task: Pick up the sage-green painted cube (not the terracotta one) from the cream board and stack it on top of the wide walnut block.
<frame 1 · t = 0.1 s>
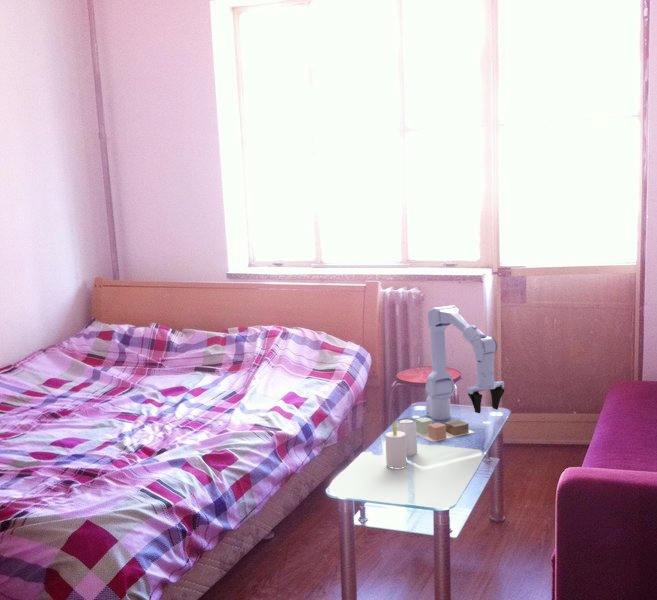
hand: (486, 410, 265), 10 cm above the table, tool pointing down, fingers open, 7 cm apart
sage block: (424, 431, 275), point 1 cm above the table, touching cream board
can: (407, 456, 254), on the table
candle: (396, 466, 245), on the table
cream board: (442, 434, 274), on the table
walnut block: (456, 431, 273), point 1 cm above the table, touching cream board
terracotta block: (437, 437, 268), point 1 cm above the table, touching cream board
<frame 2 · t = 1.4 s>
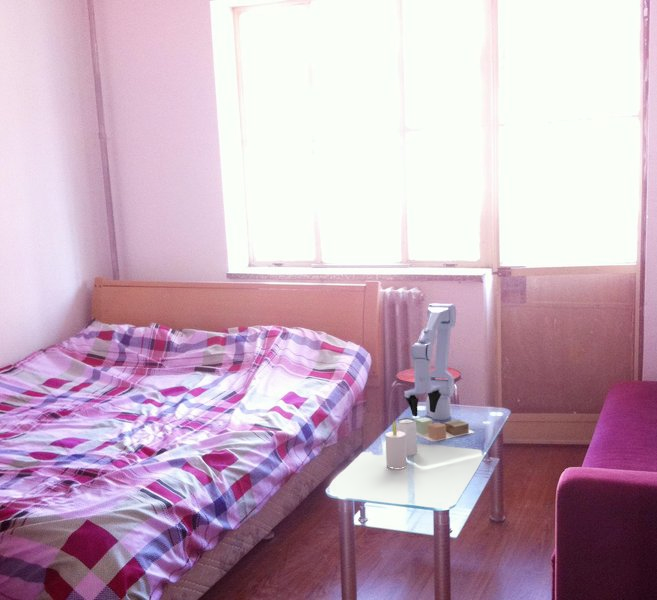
hand: (423, 413, 274), 8 cm above the table, tool pointing down, fingers open, 7 cm apart
nothing on the table moved.
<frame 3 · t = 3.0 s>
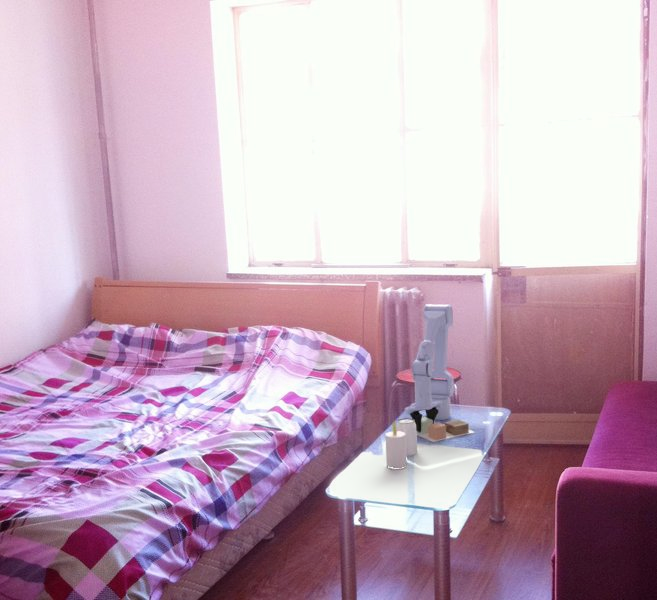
hand: (424, 429, 275), 2 cm above the table, tool pointing down, fingers closed on sage block, 4 cm apart
sage block: (424, 431, 275), point 1 cm above the table, touching cream board, gripper
everything else where it was.
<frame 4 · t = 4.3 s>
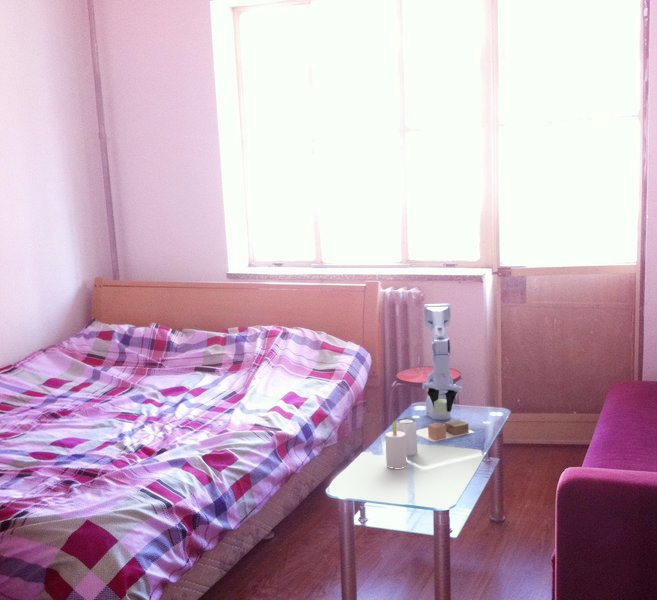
hand: (442, 410, 273), 9 cm above the table, tool pointing down, fingers closed on sage block, 4 cm apart
sage block: (442, 412, 273), point 8 cm above the table, touching gripper
everything else where it was.
when the fingers open (5 cm above the table, at t = 6.0 s): sage block stays where it is, resting on walnut block.
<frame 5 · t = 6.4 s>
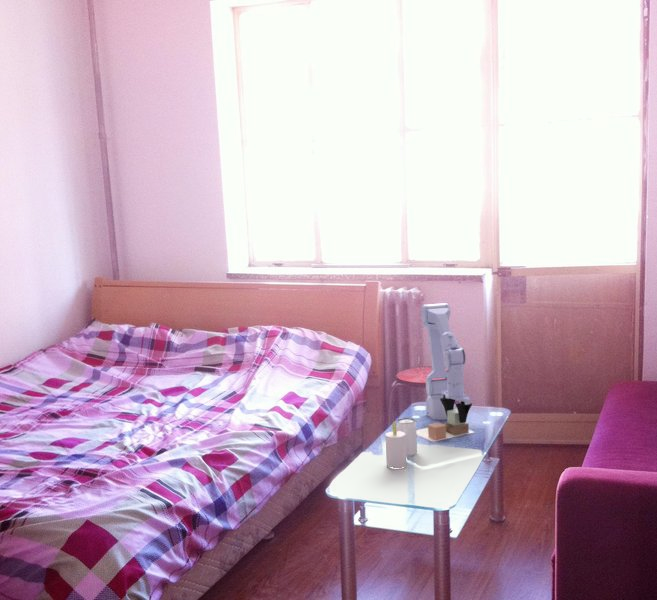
hand: (456, 419, 272), 5 cm above the table, tool pointing down, fingers open, 7 cm apart
sage block: (456, 423, 272), point 4 cm above the table, touching walnut block
walnut block: (456, 431, 273), point 1 cm above the table, touching cream board, sage block
everything else where it was.
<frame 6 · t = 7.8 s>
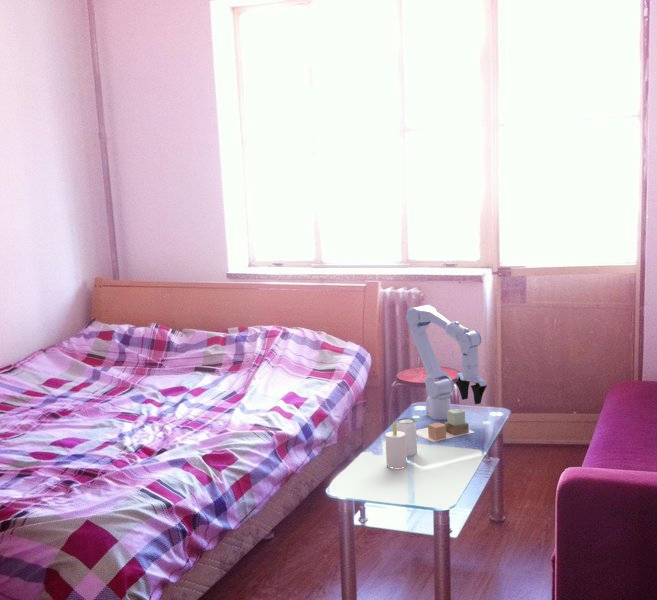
hand: (471, 401, 278), 10 cm above the table, tool pointing down, fingers open, 7 cm apart
nothing on the table moved.
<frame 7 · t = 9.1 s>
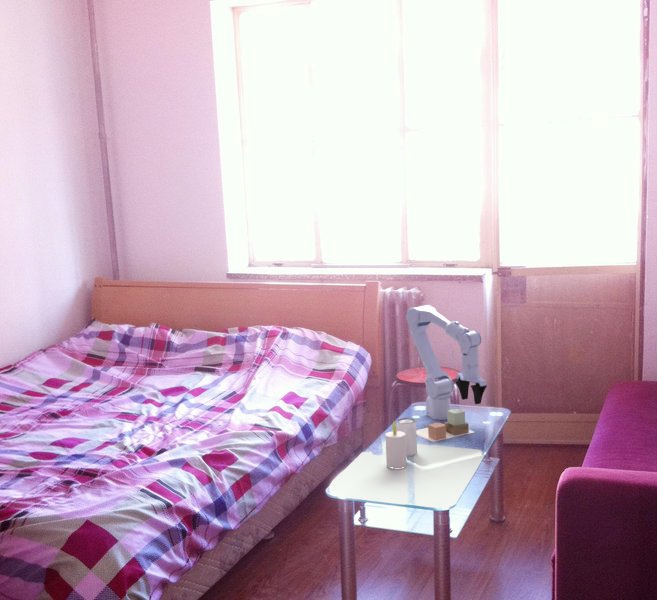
hand: (471, 401, 278), 10 cm above the table, tool pointing down, fingers open, 7 cm apart
nothing on the table moved.
at the end: sage block 0.0 cm off-centre on the walnut block, point 3.2 cm above the walnut block's base; sage block tilted 0°; the gripper is holding nothing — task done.
